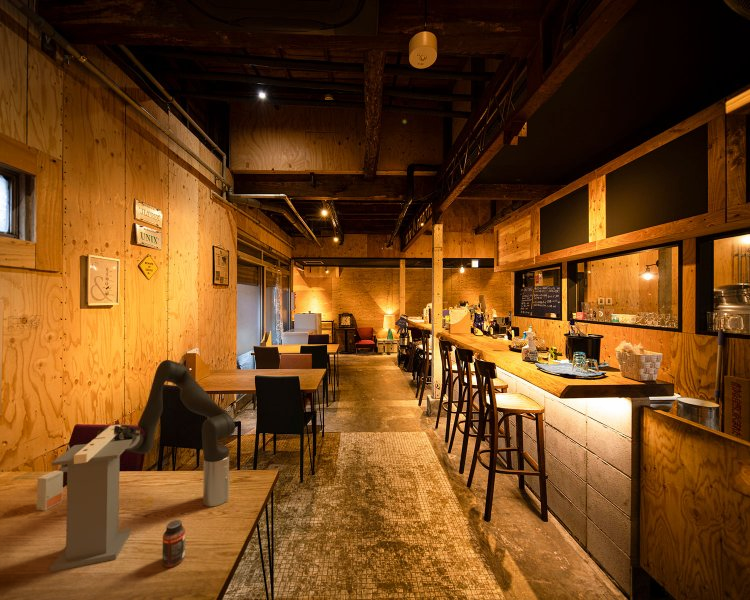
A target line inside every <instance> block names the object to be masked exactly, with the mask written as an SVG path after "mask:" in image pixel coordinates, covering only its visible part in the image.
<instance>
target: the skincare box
mask: <svg viewBox="0 0 750 600" xmlns="http://www.w3.org/2000/svg"><path fill="white" fill-rule="evenodd" d="M63 488H64V487H63V471H59V470H53V471H51V472H47V473H46V474H44V475H41V476H39V477H37V486H36V510H38V511H47V510H49V509H51V508H52V507H54V506H57V505H59V504H60V503H62V502H63V491H64V489H63Z"/></svg>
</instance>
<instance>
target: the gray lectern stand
mask: <svg viewBox="0 0 750 600" xmlns="http://www.w3.org/2000/svg"><path fill="white" fill-rule="evenodd" d="M131 443H132V439H130V440H121V441H109V442H108V443H107V444H106V445H105V446H104V447H103V448H102V449H101V450H100V451H99V452H97V453H96V454H95V455H94V456H93V457H92V458H91V459H90V460H89V461H88V462H87V463H78V464H74V455H75V454H76V453H77V452H79V451H80V450H81V449H82V448H84V447H85V446H86V445H87V444H88V443H84V444H75V445H73V446H71V447H70V449H69V450H68V449H67V450H66V451H65V452H64V453H62V454H61V455H59V457H56V459H54V460H53V461H52V462H51V466H62V465H64V464H67V485H66V522H65V523H66V526H65V527H66V529H65V531H66V532H65V533H66V534H65V547H64V549H63V550H62V552H61V553H60V554H59V555H58V557H57V558H56V559H55V560H54V561H53V563H52V564H51V565H50V566H49V573H53V572H59V571H63V570H68V569H74V568H78V567H84V566H89V565H93V564H99V563H104V562H109V561H114V560H116V559H117V558H118V556H119V554H120V553H121V551H122V549H123V547H124V545H125V544H126V543H127V540H128V538H129V537H130V535H131V532H132V531H131V530H132V529H131V528H127V529H122V530H121V529H120V530H119V523H120V522H119V521H120V519H119V518H120V517H119V516H120V514H119V511H120V466H121V465H120V463H121V462H120V459H121V455H122V454H123V453H124V452H125V451H126V450H125V449H126V448H127V447H128V446H129V445H130V444H131Z"/></svg>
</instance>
